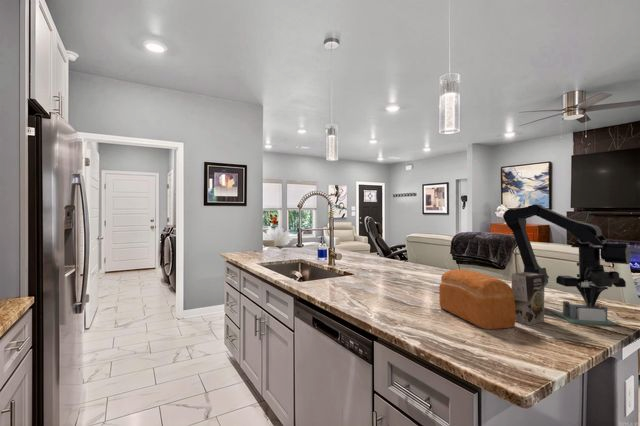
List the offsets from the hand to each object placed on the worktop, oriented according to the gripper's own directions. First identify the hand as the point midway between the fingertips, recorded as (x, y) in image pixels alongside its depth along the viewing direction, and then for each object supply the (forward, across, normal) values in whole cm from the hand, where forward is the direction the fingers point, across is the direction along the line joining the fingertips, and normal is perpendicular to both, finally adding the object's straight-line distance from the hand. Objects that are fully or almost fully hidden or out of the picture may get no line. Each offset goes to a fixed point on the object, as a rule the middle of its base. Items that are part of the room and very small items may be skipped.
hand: (590, 305), depth 113 cm
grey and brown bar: (+1, -2, 0) cm, 2 cm away
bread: (+4, -39, -2) cm, 39 cm away
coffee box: (+4, -22, -4) cm, 23 cm away
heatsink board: (+5, -2, 0) cm, 5 cm away
